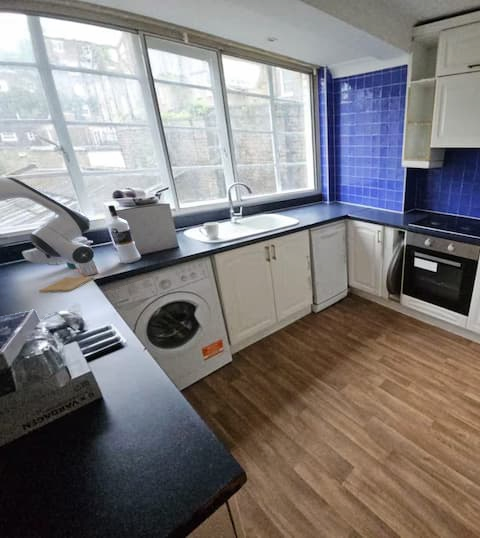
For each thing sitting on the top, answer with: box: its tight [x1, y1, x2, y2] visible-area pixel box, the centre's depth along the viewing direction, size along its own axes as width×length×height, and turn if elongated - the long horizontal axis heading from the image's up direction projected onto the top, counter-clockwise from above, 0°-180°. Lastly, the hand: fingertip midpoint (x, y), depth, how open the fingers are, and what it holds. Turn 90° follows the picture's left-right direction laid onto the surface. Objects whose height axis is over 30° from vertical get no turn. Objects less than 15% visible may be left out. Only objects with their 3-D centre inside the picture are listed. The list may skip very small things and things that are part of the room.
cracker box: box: [75, 234, 99, 277], centre depth 142 cm, size 14×6×21 cm, turn 52°
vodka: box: [107, 204, 142, 264], centre depth 153 cm, size 9×9×30 cm
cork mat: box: [38, 276, 94, 293], centre depth 132 cm, size 13×13×1 cm
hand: (50, 246), depth 126 cm, fingers closed on syrup box, 6 cm apart
